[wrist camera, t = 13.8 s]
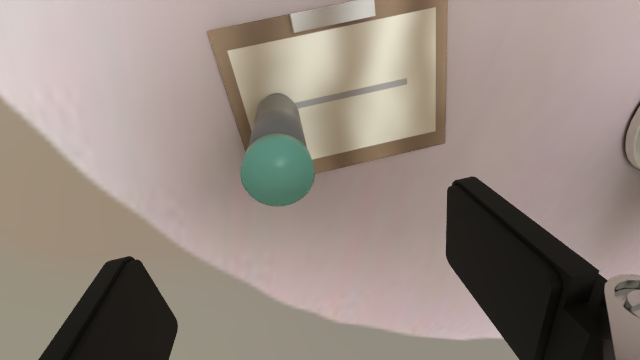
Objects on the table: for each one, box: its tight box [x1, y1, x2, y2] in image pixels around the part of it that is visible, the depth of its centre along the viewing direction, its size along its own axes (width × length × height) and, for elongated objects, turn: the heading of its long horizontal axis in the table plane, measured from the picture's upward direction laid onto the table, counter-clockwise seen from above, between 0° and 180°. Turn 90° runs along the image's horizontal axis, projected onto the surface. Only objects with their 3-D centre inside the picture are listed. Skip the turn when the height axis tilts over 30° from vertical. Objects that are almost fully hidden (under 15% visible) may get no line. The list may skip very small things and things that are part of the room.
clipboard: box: [207, 0, 448, 174], centre depth 25 cm, size 18×13×2 cm
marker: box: [241, 93, 314, 206], centre depth 20 cm, size 3×3×12 cm
